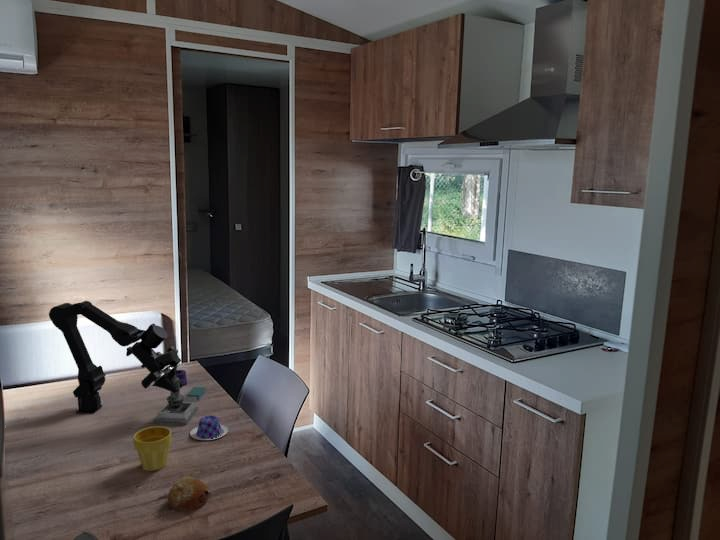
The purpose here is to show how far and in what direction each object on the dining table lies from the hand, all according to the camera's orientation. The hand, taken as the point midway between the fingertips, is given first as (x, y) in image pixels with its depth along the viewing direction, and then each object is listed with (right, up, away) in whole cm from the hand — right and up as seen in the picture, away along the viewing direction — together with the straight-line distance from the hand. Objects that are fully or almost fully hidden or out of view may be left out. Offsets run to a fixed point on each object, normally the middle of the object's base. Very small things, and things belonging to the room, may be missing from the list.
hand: (178, 389), depth 200 cm
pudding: (+13, -13, -10) cm, 21 cm away
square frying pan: (-1, -8, +11) cm, 14 cm away
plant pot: (+2, -16, -31) cm, 35 cm away
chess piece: (-1, -7, +1) cm, 7 cm away
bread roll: (+18, -19, -48) cm, 55 cm away
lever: (-11, -4, +36) cm, 38 cm away
